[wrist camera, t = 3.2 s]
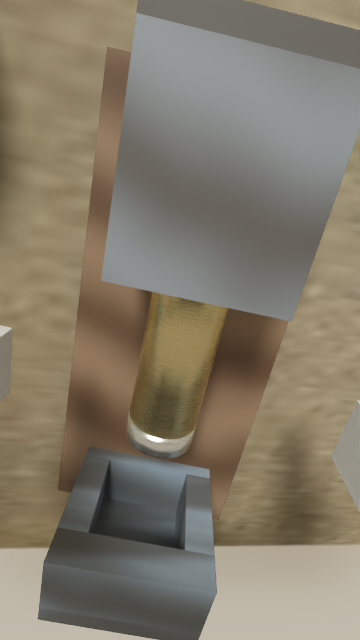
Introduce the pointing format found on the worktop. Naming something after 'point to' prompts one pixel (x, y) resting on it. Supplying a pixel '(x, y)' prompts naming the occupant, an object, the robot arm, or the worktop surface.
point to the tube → (173, 374)
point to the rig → (190, 285)
